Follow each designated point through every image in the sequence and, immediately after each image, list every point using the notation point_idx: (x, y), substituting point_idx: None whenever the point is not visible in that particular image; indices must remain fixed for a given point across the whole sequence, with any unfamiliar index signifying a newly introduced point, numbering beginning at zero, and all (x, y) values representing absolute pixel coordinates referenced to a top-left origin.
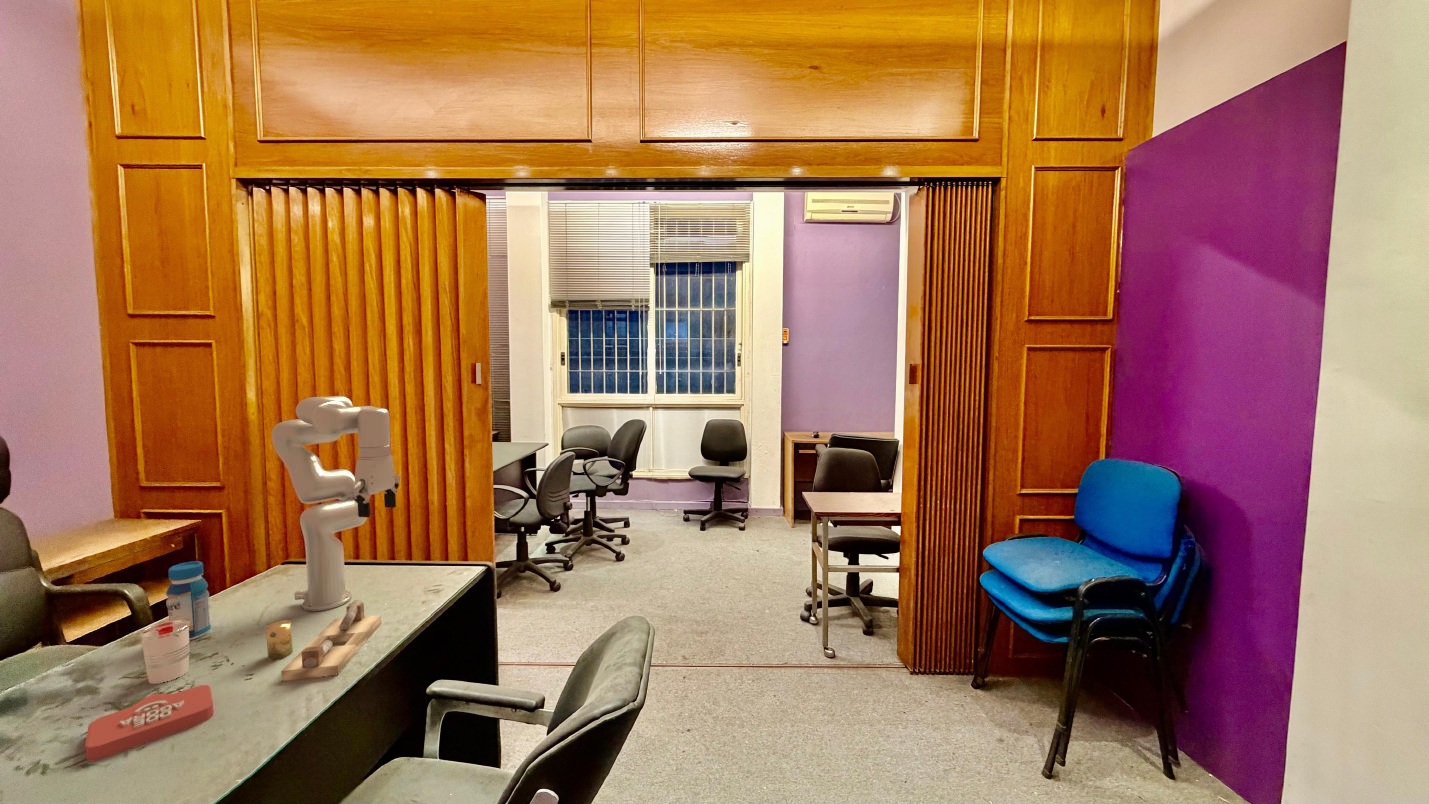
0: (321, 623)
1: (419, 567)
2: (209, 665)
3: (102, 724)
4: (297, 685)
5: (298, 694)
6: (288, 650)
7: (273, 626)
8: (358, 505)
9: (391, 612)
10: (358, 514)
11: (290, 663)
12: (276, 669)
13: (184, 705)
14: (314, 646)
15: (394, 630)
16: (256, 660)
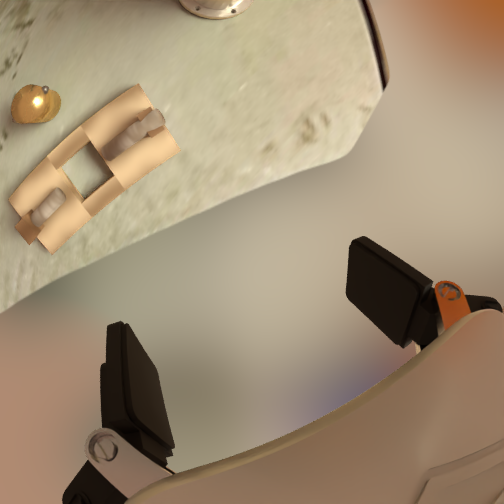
0: (143, 49)
1: (366, 44)
2: (6, 55)
3: None
4: None
5: (16, 248)
6: (46, 120)
7: (21, 101)
8: (102, 422)
9: (217, 126)
10: (108, 336)
11: (20, 187)
12: (22, 152)
13: None
14: (58, 161)
15: (168, 195)
16: None
